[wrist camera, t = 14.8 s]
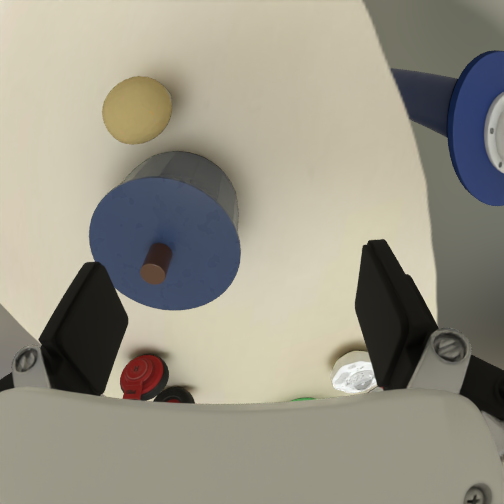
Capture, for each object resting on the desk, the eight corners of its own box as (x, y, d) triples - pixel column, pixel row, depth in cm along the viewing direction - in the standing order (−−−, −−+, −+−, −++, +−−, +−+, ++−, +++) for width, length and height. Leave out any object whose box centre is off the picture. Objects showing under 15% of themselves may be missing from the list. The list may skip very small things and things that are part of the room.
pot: (228, 142, 33) (222, 169, 26) (244, 250, 42) (244, 298, 34) (111, 163, 34) (76, 195, 26) (142, 260, 42) (122, 307, 34)
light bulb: (146, 137, 33) (114, 165, 24) (121, 92, 29) (79, 105, 21) (194, 111, 31) (175, 129, 23) (169, 63, 28) (139, 64, 20)
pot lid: (228, 160, 26) (224, 179, 22) (249, 298, 34) (250, 328, 31) (73, 189, 27) (51, 210, 23) (122, 307, 35) (111, 334, 32)
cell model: (367, 331, 52) (378, 361, 46) (384, 360, 58) (392, 387, 52) (317, 354, 55) (323, 384, 49) (340, 379, 61) (346, 406, 55)
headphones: (201, 392, 62) (194, 477, 46) (161, 395, 64) (149, 474, 47) (165, 344, 53) (145, 446, 36) (120, 349, 54) (94, 441, 37)
